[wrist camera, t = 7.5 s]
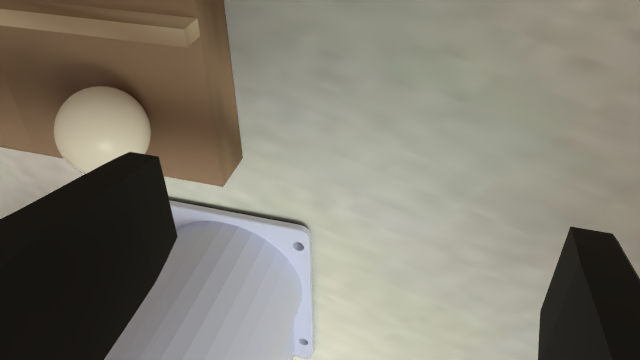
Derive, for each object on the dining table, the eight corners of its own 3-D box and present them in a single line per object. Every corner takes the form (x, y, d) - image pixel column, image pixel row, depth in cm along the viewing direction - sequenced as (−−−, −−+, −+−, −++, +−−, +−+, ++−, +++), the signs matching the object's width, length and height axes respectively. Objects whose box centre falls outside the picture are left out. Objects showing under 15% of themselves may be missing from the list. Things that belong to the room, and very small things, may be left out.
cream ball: (173, 150, 22) (129, 202, 19) (101, 138, 23) (50, 187, 20) (157, 75, 20) (106, 123, 17) (79, 65, 21) (19, 110, 18)
